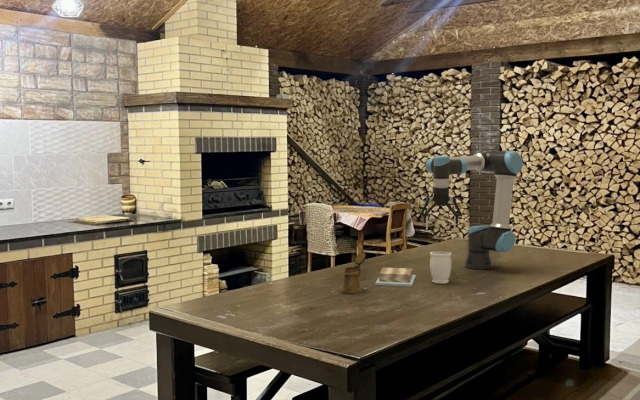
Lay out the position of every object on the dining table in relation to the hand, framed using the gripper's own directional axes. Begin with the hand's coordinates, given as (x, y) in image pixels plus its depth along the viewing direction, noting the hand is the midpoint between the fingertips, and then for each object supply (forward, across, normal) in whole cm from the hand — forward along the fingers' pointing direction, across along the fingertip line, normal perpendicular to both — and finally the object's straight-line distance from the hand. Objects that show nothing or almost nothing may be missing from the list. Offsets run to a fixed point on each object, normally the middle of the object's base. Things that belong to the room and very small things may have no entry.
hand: (440, 229), depth 332 cm
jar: (+27, 0, 0) cm, 27 cm away
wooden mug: (+27, +39, +26) cm, 54 cm away
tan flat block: (+25, +22, +2) cm, 33 cm away
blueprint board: (+26, +22, +2) cm, 34 cm away
